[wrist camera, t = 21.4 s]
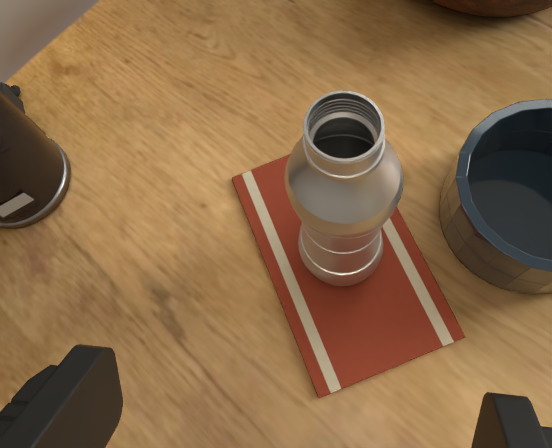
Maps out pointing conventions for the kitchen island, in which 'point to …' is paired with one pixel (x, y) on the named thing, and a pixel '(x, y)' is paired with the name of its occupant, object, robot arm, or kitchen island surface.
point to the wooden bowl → (496, 6)
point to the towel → (346, 293)
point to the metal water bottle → (343, 187)
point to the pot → (504, 199)
